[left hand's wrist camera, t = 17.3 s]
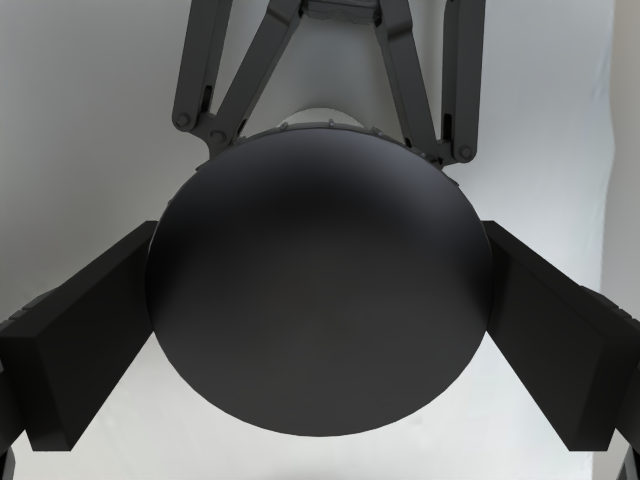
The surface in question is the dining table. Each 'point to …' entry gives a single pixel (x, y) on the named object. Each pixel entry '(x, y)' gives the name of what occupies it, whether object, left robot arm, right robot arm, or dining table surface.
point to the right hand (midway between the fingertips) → (311, 263)
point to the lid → (319, 280)
